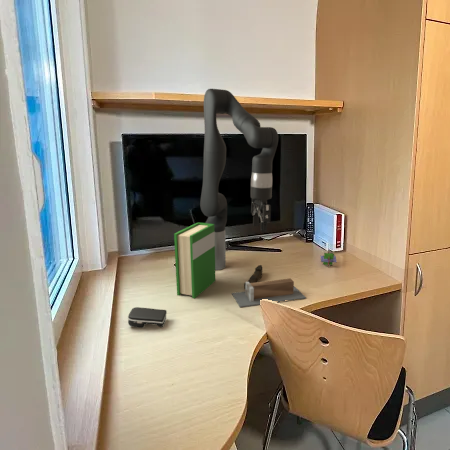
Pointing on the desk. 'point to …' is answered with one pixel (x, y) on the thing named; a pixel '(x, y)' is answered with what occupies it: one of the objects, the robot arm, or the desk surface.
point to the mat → (245, 302)
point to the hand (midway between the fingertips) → (259, 229)
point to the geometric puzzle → (328, 258)
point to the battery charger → (146, 317)
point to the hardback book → (195, 258)
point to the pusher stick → (269, 288)
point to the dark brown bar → (255, 275)
